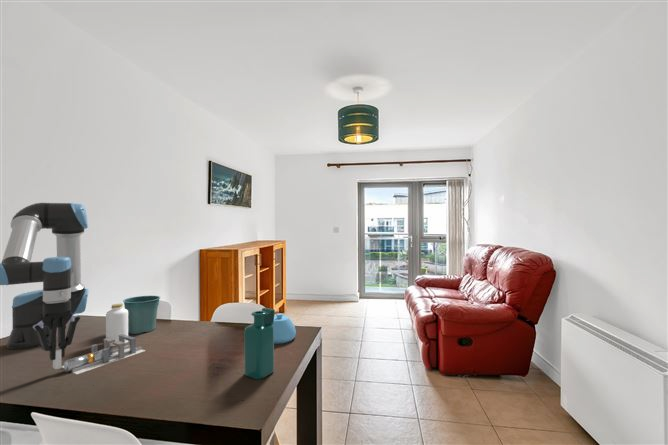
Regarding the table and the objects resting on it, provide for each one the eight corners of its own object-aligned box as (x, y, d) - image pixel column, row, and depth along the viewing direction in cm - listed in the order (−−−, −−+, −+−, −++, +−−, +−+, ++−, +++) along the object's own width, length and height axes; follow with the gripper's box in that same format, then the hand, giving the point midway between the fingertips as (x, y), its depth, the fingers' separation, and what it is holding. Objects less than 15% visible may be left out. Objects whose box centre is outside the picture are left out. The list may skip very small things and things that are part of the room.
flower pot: (151, 323, 173) (151, 293, 174) (166, 328, 164) (166, 297, 164) (117, 331, 160) (117, 299, 160) (131, 338, 150) (131, 304, 151)
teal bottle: (259, 381, 108) (258, 316, 108) (242, 375, 112) (241, 312, 112) (278, 369, 116) (278, 309, 116) (262, 364, 120) (261, 306, 121)
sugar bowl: (256, 342, 144) (256, 316, 144) (274, 331, 158) (274, 308, 158) (285, 346, 138) (285, 320, 138) (301, 335, 152) (301, 311, 152)
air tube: (67, 374, 113) (69, 365, 112) (62, 366, 115) (65, 358, 114) (110, 359, 125) (113, 351, 124) (106, 353, 127) (108, 345, 126)
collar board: (60, 369, 118) (60, 350, 118) (128, 347, 139) (128, 331, 139) (76, 377, 112) (76, 357, 112) (145, 353, 132) (145, 336, 132)
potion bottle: (117, 349, 137) (116, 307, 137) (100, 347, 138) (100, 306, 139) (132, 342, 145) (132, 302, 145) (117, 341, 147) (117, 302, 147)
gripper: (37, 306, 105) (37, 378, 105) (83, 298, 116) (84, 363, 116) (28, 303, 109) (28, 372, 108) (74, 296, 120) (74, 358, 120)
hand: (57, 367), depth 112 cm, fingers closed
